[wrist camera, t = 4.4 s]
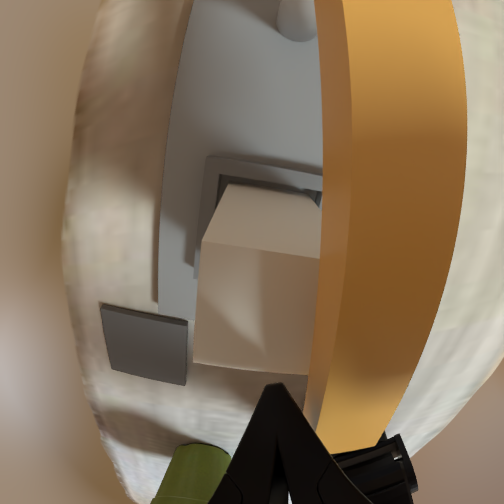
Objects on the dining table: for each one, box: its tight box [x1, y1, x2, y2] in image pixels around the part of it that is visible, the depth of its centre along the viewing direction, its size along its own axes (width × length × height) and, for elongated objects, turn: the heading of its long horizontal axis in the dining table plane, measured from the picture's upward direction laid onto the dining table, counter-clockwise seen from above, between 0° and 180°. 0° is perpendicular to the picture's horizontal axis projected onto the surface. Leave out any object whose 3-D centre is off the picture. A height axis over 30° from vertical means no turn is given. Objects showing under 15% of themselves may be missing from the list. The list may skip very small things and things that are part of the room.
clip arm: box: [303, 0, 467, 454], centre depth 5 cm, size 18×3×2 cm, turn 2°
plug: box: [193, 181, 322, 375], centre depth 12 cm, size 4×4×9 cm
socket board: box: [158, 0, 323, 320], centre depth 12 cm, size 21×12×10 cm, turn 171°
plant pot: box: [150, 444, 231, 504], centre depth 25 cm, size 12×12×11 cm
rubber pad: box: [100, 304, 188, 386], centre depth 22 cm, size 7×7×1 cm
